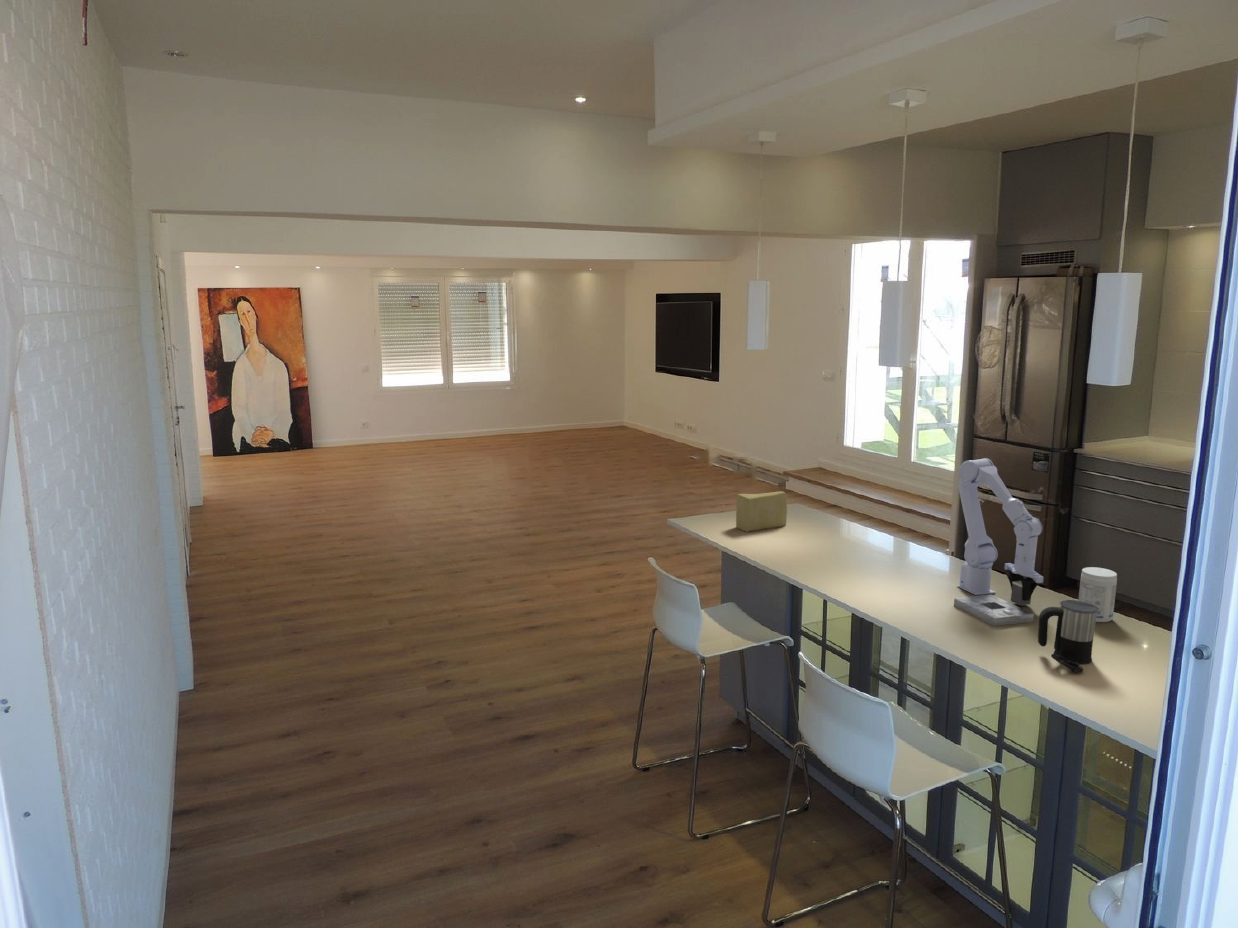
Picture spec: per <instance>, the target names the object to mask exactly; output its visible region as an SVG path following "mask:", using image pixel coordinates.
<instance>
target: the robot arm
mask: <svg viewBox="0 0 1238 928" xmlns="http://www.w3.org/2000/svg"><path fill="white" fill-rule="evenodd" d="M958 475H959V478H958V483H957V484H958V485H957V487H958V492H959V497H960V501H961V506H962V512H963V517H964V521H965V526H966V531H967V535H968V538H967V540H966V542H965V543H964V554H963V557H964V560H965V562H964V563H963V564H962V565H961V568H960V575H959V576H960V577H959V584H957V585H956V587H958V588H960V589H961V590H964V591H966V592H967V593H968V592H969V593H971V594H972V595H973V596H974V595H975V596H980V595H990V594H992V595H994V594H996V593H997V592H996V591H995V590H992V589H991V588H990V587H991V579H992V569H993V568H992V567H993V565H994V562H996V560H997V558H998V557H999V554H998V553H999V552H998V549H997V548H996V546H995V545H994V542H993V538H991V537H989V536H988V534H987V530H986V525H985V521H984V516H983V512H982V508H981V502H980V497H979V494H978V493H979V492H978V487H980V485H981V484H983V485H987V486H988V487H989V489H991V492H993V493H994V495H995V496H996V497H997V498H998V499H999V501H1001V503H1002V506H1001V507H1002V511H1003V512H1004V513H1005V515H1006V516H1007V518H1008V519H1009V520H1010V522H1011V523H1012V525H1014V527H1013V532H1014V534H1015V536H1016V538H1015V540H1016V545H1015V546H1016V547H1015V553H1014V556H1015V557H1014V563H1011V562H1008V563H1004V570H1006V571H1009V572H1007V573H1006V578H1007V579H1008V581H1009V585H1010V590H1011V591H1012V584H1013V583H1012V582H1014V581H1021V582H1022V587H1023V600H1024V601H1027V600H1030V598H1031V599H1032V595H1033V592H1034V591H1035V589H1036V588H1037V587H1038V585H1039V584H1044V579H1045V578H1044V576H1043V575H1041V574H1039V573H1038V572H1037V571H1035V566H1036V565H1035V563H1036V555H1037V546H1038V540H1039V539H1038V537H1039V536H1040V535H1041V534H1042V532H1043V528H1044V527H1043V524H1042V522H1041V521H1040V519H1039V518H1038V517H1033V515H1032V514H1031V513H1030V512H1029V511H1028V509H1027V508H1026V507H1025V506H1024V505H1025V504H1024V502H1023V501H1022V500H1020V499H1019V498H1015V497H1013V496H1012V494H1011V492H1010V491H1009V489H1008V488H1007V487H1006V485H1005V483H1004V482H1003V480H1002V479H1001V477H1000V475H999V474H998V468H997V467H996V466H995V464H994V463H993V461H992V460H991V459H989V458H987V457H985V458H981V459H973V460H965V461H963V462H962V464H961V465H960V466H959V467H958Z"/></svg>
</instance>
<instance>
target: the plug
mask: <svg viewBox="0 0 1238 928" xmlns="http://www.w3.org/2000/svg"><path fill="white" fill-rule="evenodd" d="M1012 583H1013V584H1012V590H1011V594H1010V595H1011V596H1010V603H1011V602H1012V603H1014V604H1015V605H1018V606H1027V605H1031V602H1032V597H1031V598H1030V600H1027V601H1024V600H1023V587H1022V582H1021V581H1014V582H1012Z"/></svg>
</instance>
